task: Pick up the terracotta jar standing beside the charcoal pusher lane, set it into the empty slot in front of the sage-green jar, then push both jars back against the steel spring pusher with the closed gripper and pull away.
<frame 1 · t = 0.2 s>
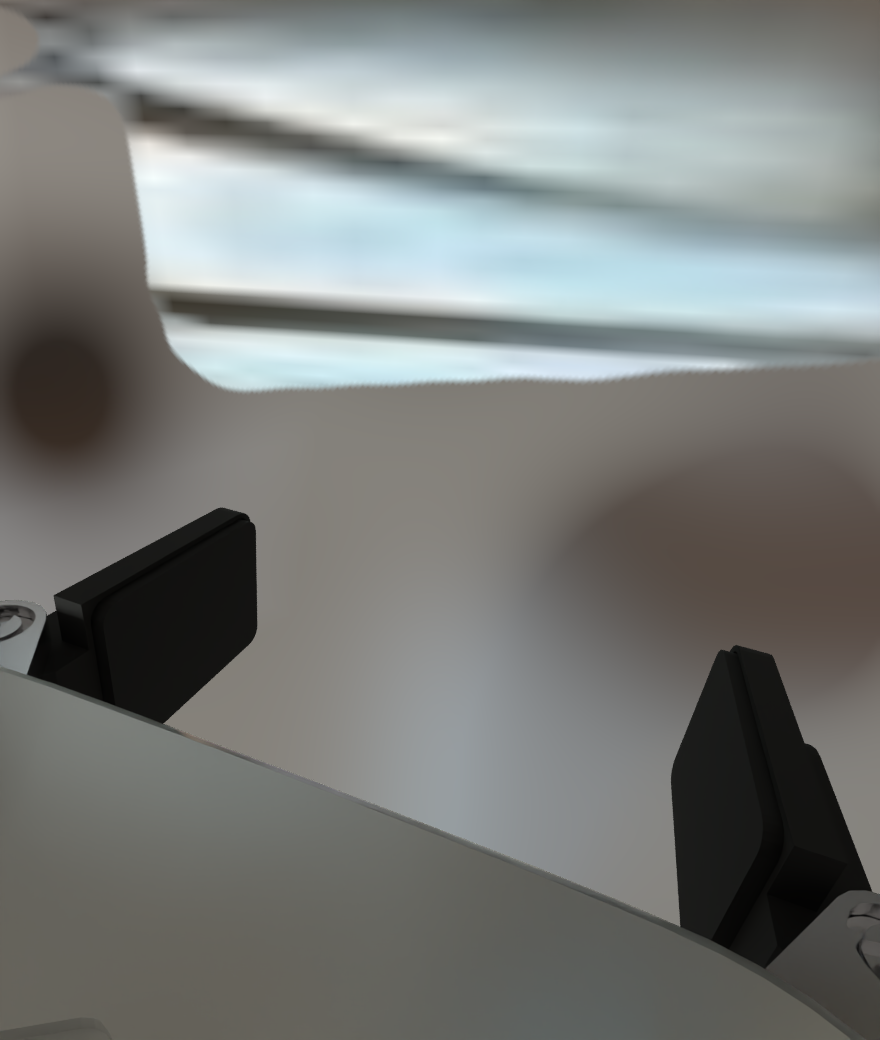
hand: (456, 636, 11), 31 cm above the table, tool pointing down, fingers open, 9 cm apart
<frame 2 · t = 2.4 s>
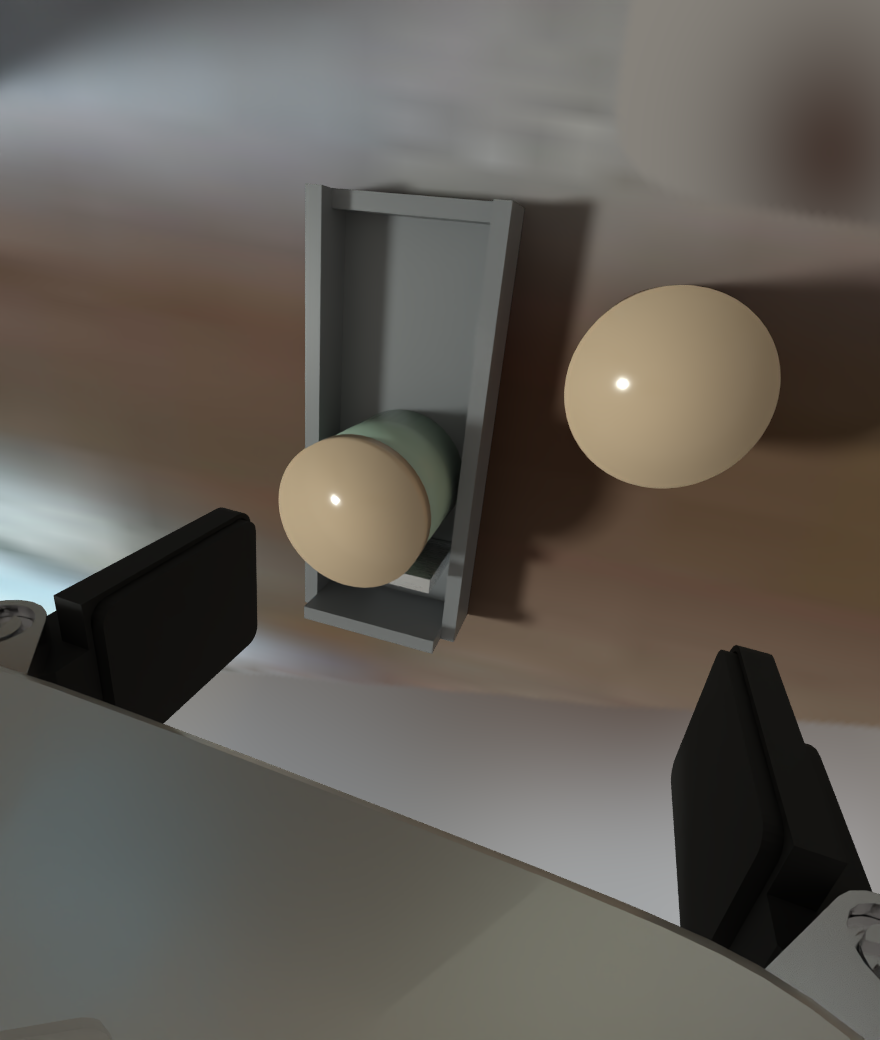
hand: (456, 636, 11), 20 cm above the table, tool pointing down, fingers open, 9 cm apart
sage jar: (403, 471, 32), resting on pusher lane
spring pusher: (382, 552, 32), point 3 cm above the table, slide at 0.0 cm
terracotta jar: (657, 367, 27), on the table
pusher lane: (408, 427, 31), on the table
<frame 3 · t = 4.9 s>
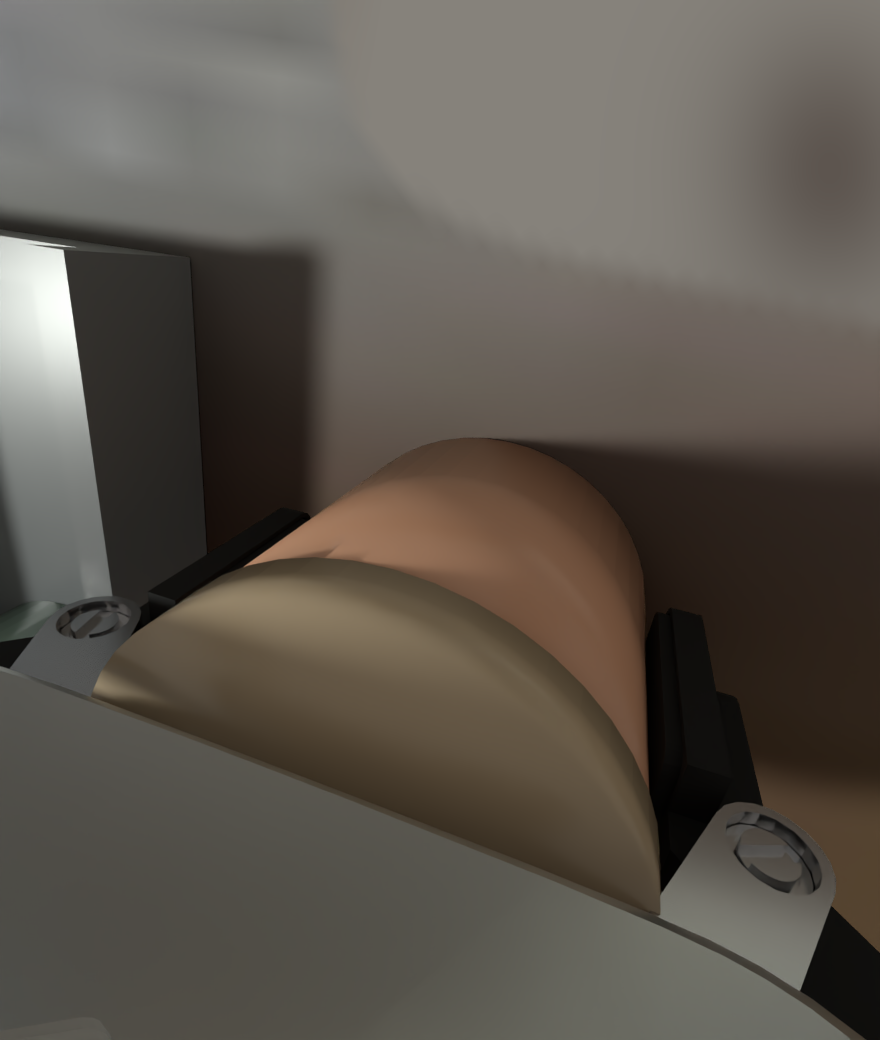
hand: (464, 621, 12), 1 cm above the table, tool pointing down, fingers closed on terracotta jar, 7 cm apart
sage jar: (83, 696, 18), resting on pusher lane
terracotta jar: (480, 589, 13), on the table, touching gripper
pusher lane: (85, 625, 18), on the table
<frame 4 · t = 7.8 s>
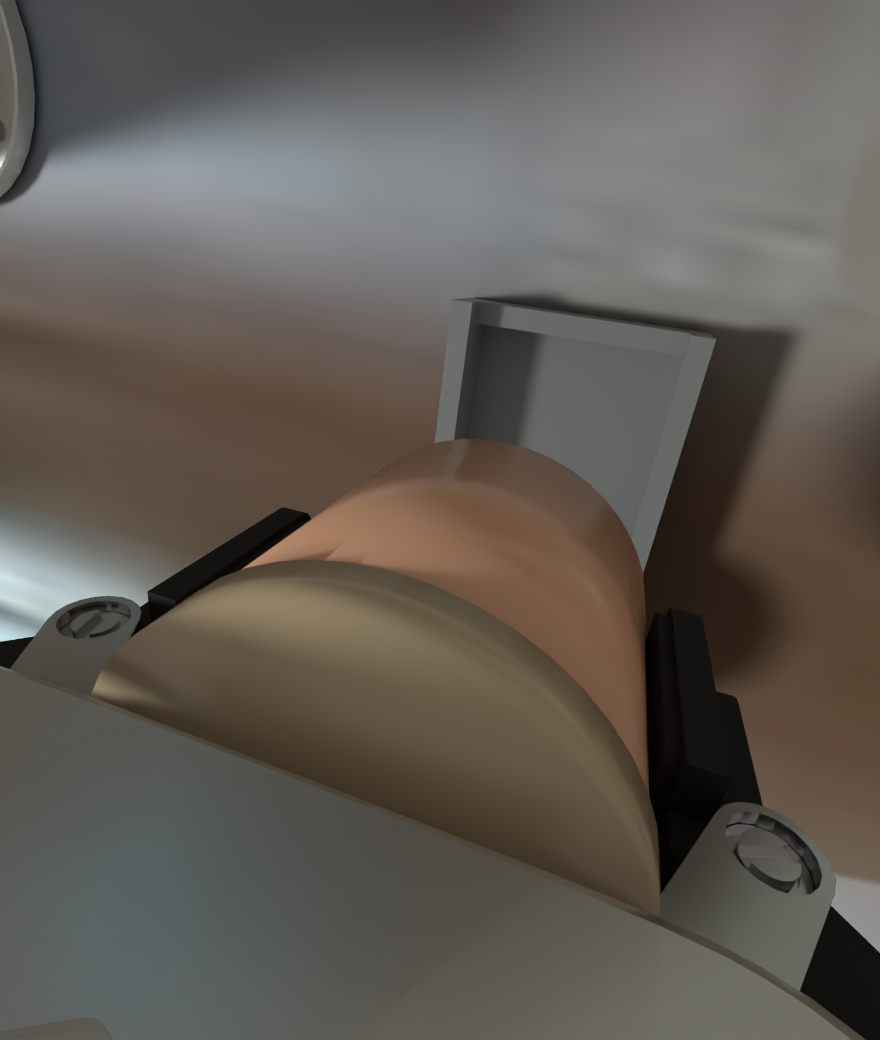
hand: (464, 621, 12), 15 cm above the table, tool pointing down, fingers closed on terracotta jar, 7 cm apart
terracotta jar: (480, 591, 13), point 14 cm above the table, touching gripper
pusher lane: (532, 553, 27), on the table
when the fingers open (3 cm above the table, at t = 10.5 s): terracotta jar drops 1 cm, resting on pusher lane.
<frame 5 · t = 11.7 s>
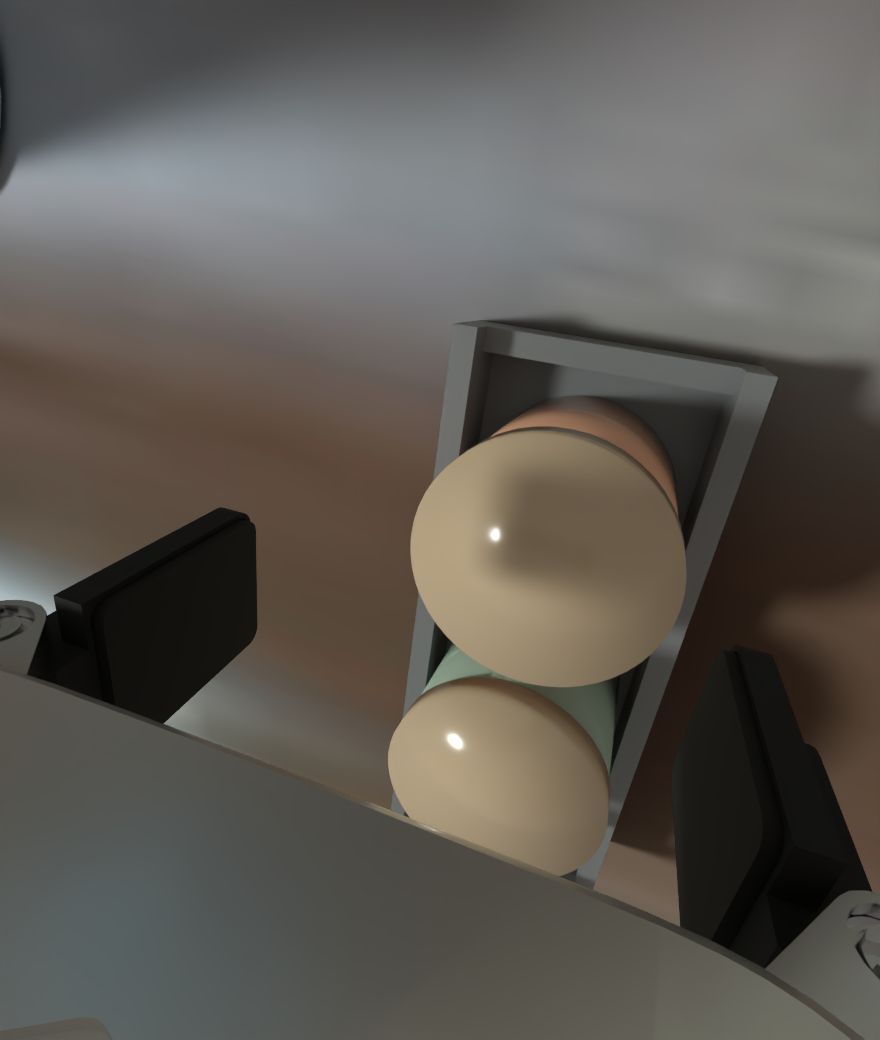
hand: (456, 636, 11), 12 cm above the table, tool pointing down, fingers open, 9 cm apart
sage jar: (534, 667, 24), resting on pusher lane
terracotta jar: (573, 491, 21), resting on pusher lane
pusher lane: (546, 613, 24), on the table
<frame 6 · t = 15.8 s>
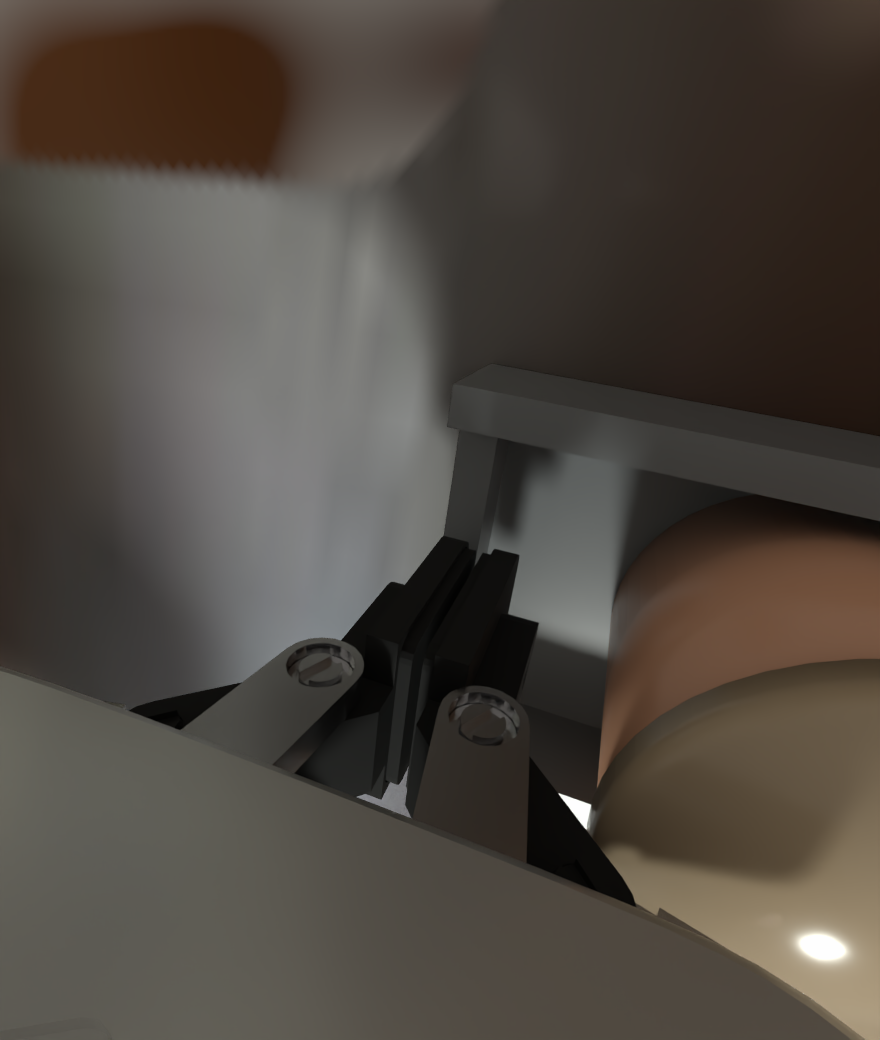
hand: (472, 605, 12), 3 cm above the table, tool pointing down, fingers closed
terracotta jar: (774, 640, 13), resting on pusher lane, touching gripper
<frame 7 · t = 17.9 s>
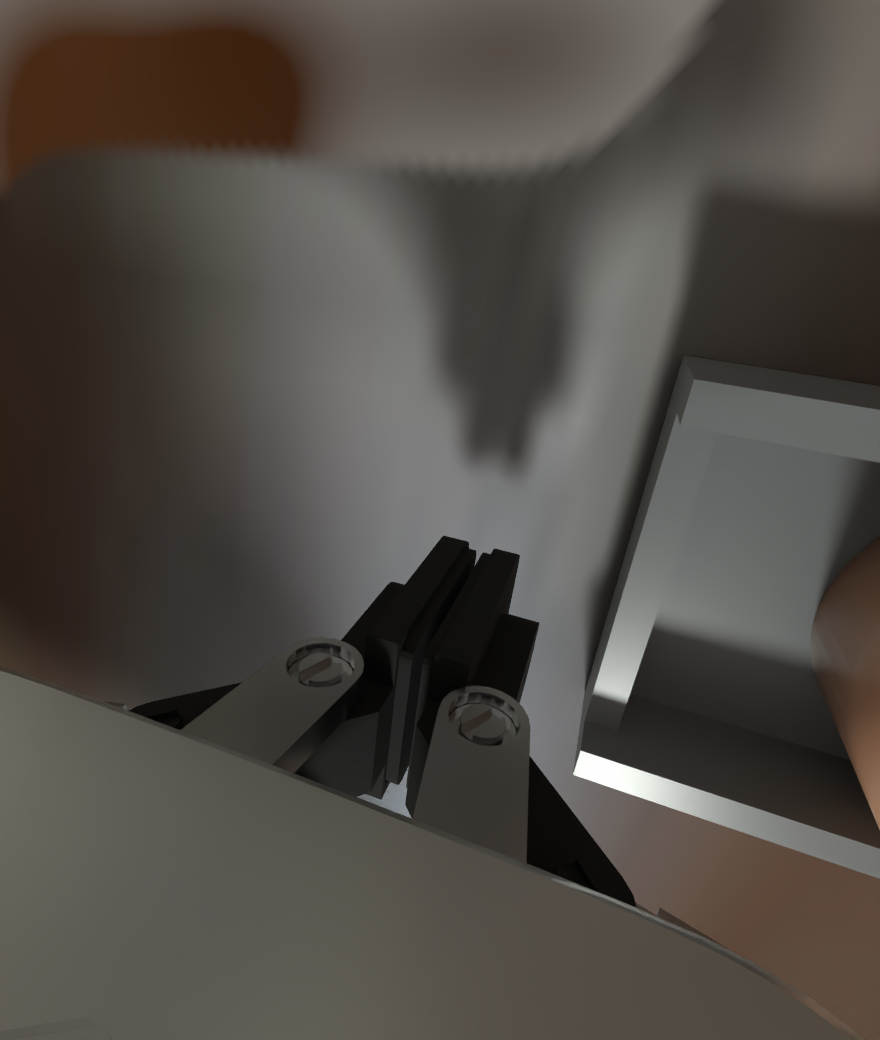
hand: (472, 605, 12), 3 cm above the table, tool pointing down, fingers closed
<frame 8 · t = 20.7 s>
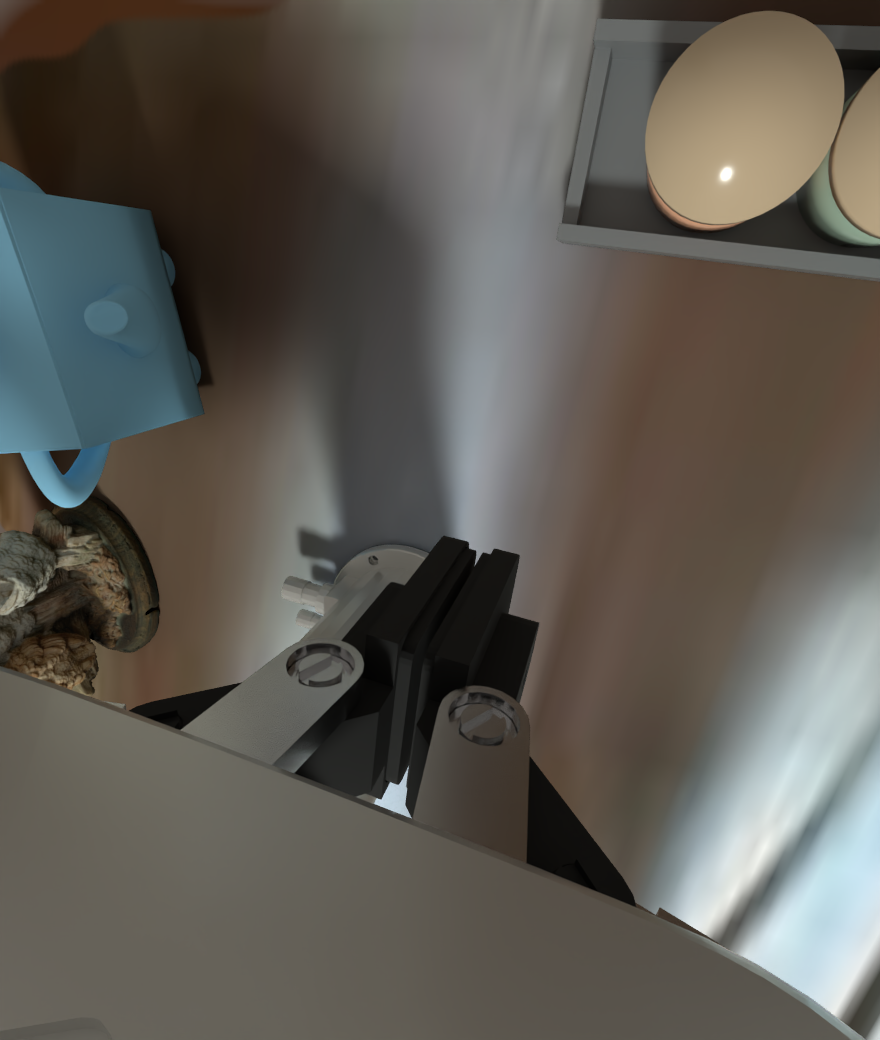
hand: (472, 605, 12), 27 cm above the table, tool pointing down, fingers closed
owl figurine: (112, 577, 57), on the table
teakettle: (134, 311, 44), on the table
sage jar: (879, 168, 27), resting on pusher lane
terracotta jar: (718, 157, 29), resting on pusher lane
pusher lane: (798, 166, 29), on the table
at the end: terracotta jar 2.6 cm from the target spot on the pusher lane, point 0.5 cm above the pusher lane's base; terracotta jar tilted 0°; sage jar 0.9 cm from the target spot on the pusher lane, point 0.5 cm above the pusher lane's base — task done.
